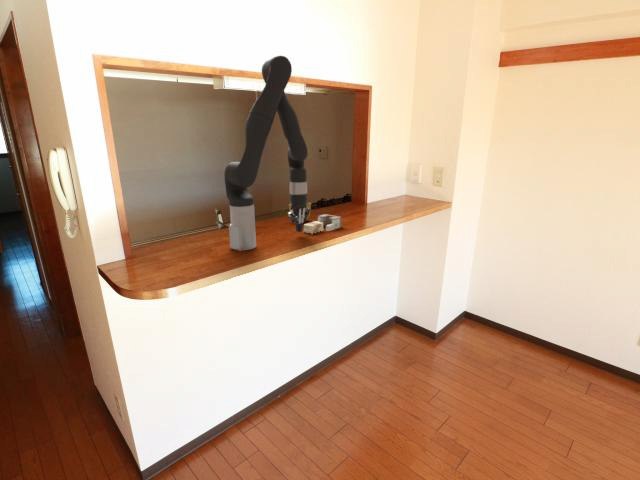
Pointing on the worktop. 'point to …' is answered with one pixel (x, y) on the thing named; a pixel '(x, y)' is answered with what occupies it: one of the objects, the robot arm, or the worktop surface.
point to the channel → (330, 221)
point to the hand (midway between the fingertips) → (299, 231)
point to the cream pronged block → (313, 227)
